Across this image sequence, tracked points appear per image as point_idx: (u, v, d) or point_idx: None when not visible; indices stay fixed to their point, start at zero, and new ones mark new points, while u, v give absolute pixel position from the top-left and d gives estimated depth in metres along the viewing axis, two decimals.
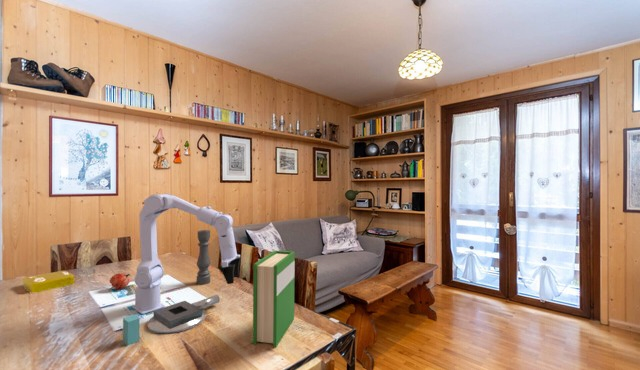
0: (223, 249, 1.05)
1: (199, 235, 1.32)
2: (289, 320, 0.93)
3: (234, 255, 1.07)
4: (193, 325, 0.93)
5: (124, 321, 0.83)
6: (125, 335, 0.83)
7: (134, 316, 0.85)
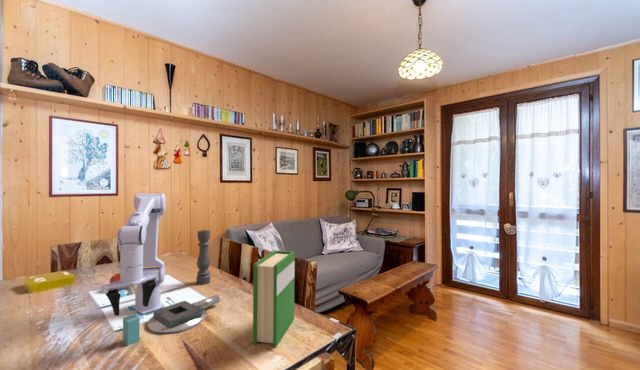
0: (120, 269, 0.83)
1: (199, 235, 1.32)
2: (289, 320, 0.93)
3: (129, 281, 0.81)
4: (193, 325, 0.93)
5: (124, 321, 0.83)
6: (125, 335, 0.83)
7: (134, 316, 0.85)
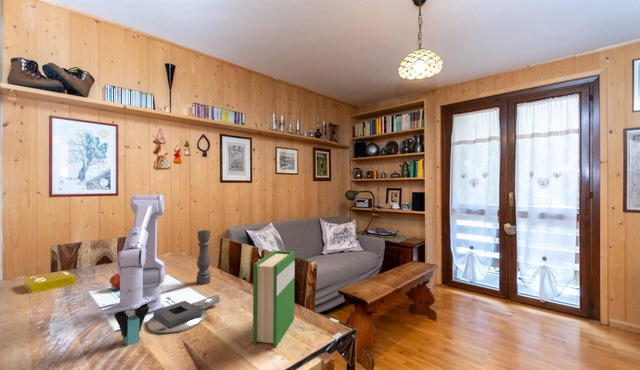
0: (120, 292, 0.83)
1: (199, 235, 1.32)
2: (289, 320, 0.93)
3: (128, 304, 0.81)
4: (193, 325, 0.93)
5: None
6: None
7: (134, 316, 0.85)
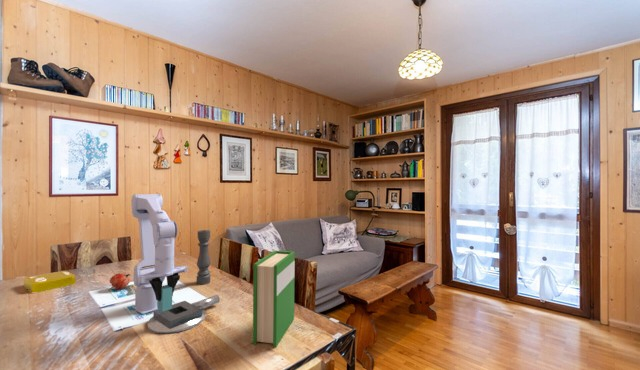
0: (154, 261, 0.92)
1: (199, 235, 1.32)
2: (289, 320, 0.93)
3: (163, 271, 0.90)
4: (193, 325, 0.93)
5: None
6: (160, 302, 0.91)
7: (167, 286, 0.94)
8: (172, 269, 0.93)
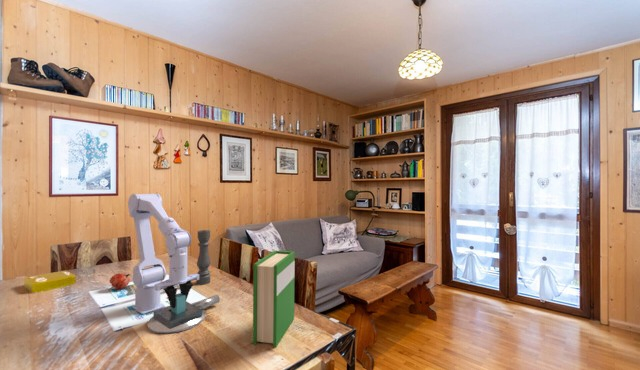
0: (169, 269, 0.96)
1: (199, 235, 1.32)
2: (289, 320, 0.93)
3: (177, 280, 0.95)
4: (193, 325, 0.93)
5: None
6: (174, 310, 0.96)
7: (180, 294, 0.98)
8: (185, 277, 0.97)
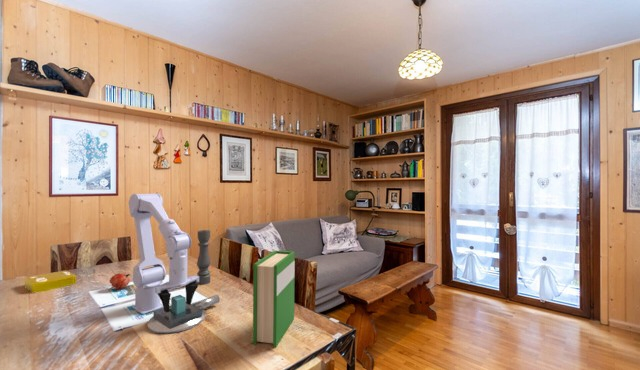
0: (169, 272, 0.96)
1: (199, 235, 1.32)
2: (289, 320, 0.93)
3: (177, 282, 0.95)
4: (193, 325, 0.93)
5: (172, 300, 0.96)
6: (174, 312, 0.96)
7: (180, 296, 0.98)
8: (185, 279, 0.97)
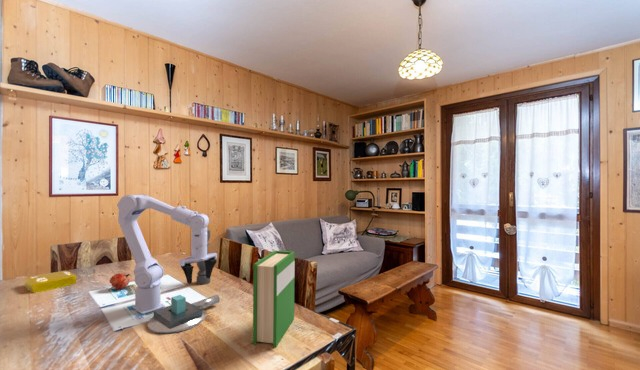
0: (191, 248, 1.06)
1: None
2: (289, 320, 0.93)
3: (198, 257, 1.05)
4: (193, 325, 0.93)
5: (172, 300, 0.96)
6: (174, 312, 0.96)
7: (180, 296, 0.98)
8: (206, 255, 1.07)
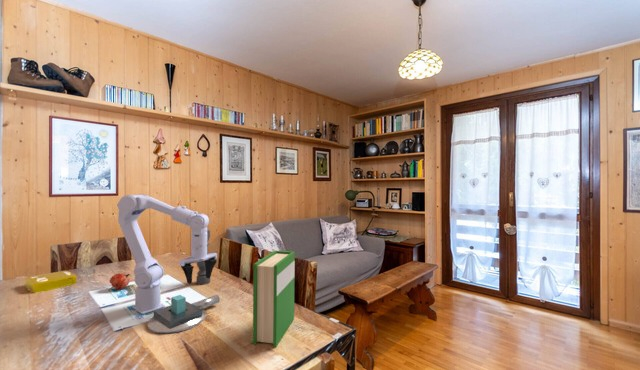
0: (191, 248, 1.06)
1: None
2: (289, 320, 0.93)
3: (198, 257, 1.05)
4: (193, 325, 0.93)
5: (172, 300, 0.96)
6: (174, 312, 0.96)
7: (180, 296, 0.98)
8: (206, 255, 1.07)
